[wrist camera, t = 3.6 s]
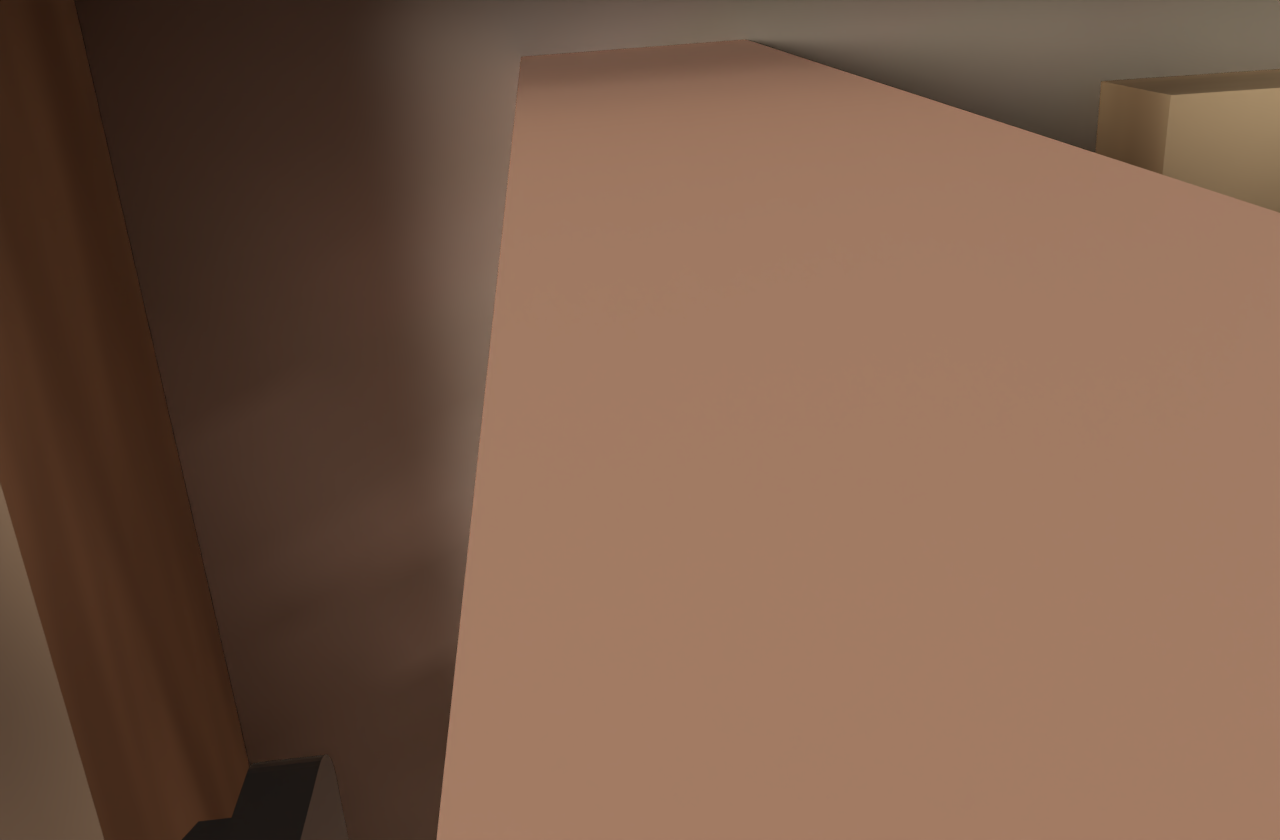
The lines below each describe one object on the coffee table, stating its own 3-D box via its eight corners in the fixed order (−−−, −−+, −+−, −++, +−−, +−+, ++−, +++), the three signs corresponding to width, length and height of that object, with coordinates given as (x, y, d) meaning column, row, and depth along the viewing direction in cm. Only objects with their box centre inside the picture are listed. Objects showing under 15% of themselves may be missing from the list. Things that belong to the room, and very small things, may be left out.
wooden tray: (1912, -308, 15) (2511, -428, 11) (1569, 908, 23) (1836, 1150, 18) (-73, -182, 14) (-375, -257, 9) (250, 1072, 21) (172, 1380, 17)
